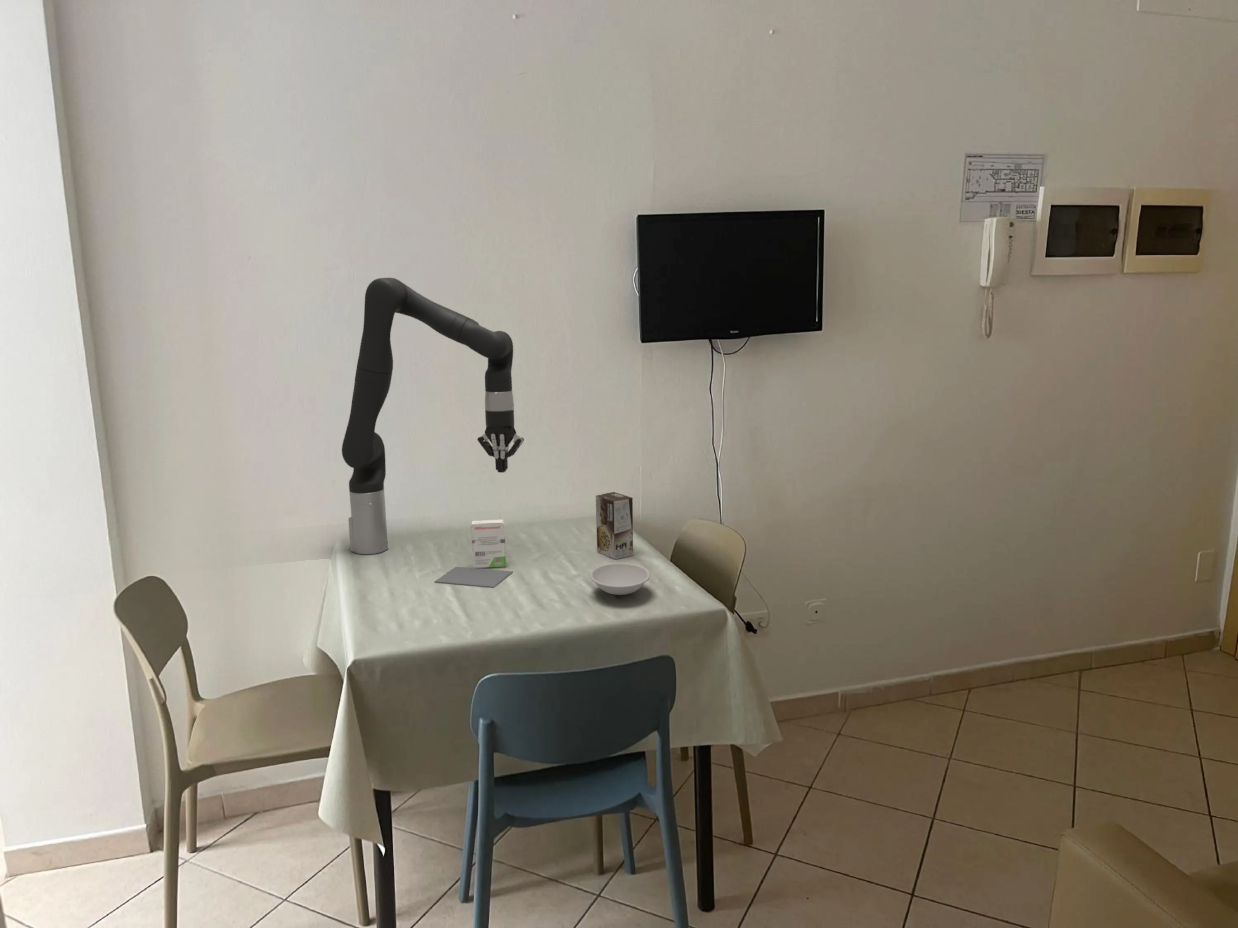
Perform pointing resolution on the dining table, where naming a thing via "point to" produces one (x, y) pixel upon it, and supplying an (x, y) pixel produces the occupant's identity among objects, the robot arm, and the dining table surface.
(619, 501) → the coffee box
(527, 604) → the dining table surface
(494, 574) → the mat
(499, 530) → the ink box
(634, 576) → the dish
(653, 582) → the dining table surface
